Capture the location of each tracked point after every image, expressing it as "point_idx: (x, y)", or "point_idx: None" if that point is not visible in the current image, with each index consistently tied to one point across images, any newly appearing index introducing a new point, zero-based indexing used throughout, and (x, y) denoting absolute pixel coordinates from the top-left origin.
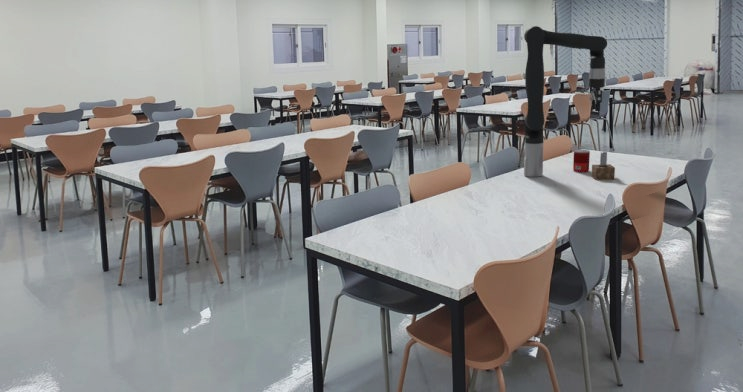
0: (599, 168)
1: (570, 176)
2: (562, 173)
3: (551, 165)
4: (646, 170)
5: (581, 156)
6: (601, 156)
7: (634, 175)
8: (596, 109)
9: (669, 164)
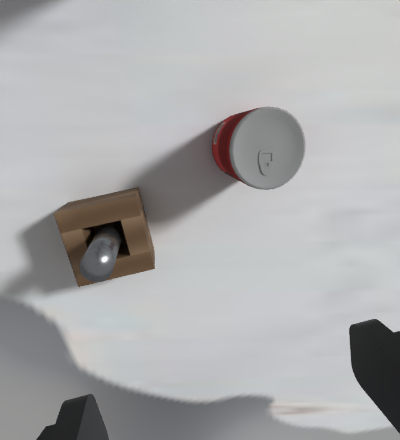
0: (59, 227)
1: (119, 102)
2: (180, 66)
3: (358, 14)
4: (267, 354)
5: (225, 148)
6: (88, 249)
7: (178, 324)
8: (42, 438)
9: (363, 407)
